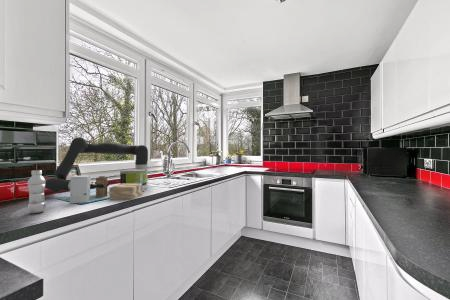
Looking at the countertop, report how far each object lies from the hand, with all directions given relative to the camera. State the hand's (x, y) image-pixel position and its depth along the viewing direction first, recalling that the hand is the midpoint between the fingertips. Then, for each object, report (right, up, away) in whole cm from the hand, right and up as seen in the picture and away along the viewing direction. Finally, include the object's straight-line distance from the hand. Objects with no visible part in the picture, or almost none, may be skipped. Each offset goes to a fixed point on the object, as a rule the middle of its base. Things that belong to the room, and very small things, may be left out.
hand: (105, 185), depth 129 cm
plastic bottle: (-13, -7, -33) cm, 36 cm away
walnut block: (-3, -7, 0) cm, 8 cm away
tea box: (+9, -7, +20) cm, 23 cm away
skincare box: (-7, -7, -13) cm, 16 cm away
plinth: (+13, -7, 0) cm, 15 cm away
